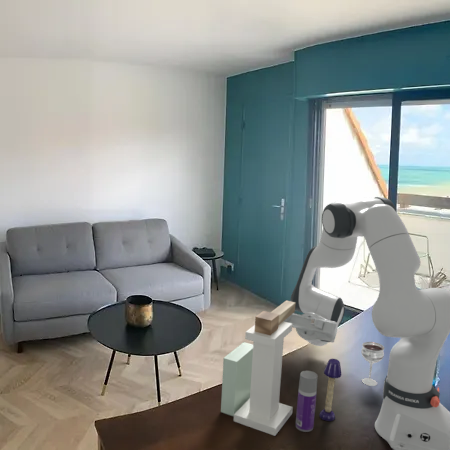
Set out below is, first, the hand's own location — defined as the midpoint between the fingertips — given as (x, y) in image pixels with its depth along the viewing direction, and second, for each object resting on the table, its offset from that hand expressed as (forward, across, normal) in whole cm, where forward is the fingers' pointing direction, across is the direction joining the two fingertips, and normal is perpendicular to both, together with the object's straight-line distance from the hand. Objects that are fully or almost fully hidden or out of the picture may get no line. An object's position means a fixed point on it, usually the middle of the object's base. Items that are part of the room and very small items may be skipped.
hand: (298, 318), depth 155 cm
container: (+6, +11, +29) cm, 31 cm away
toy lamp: (-1, +15, +25) cm, 29 cm away
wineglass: (-23, +20, +12) cm, 33 cm away
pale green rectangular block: (+6, -9, +28) cm, 30 cm away
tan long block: (+17, 0, +5) cm, 18 cm away
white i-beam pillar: (+8, 0, +29) cm, 31 cm away
